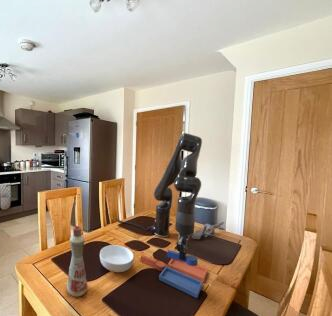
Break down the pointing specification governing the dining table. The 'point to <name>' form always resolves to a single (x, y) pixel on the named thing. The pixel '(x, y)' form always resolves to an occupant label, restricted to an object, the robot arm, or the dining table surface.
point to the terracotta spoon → (153, 262)
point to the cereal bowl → (116, 258)
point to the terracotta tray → (188, 269)
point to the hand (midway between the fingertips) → (182, 258)
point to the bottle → (77, 265)
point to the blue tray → (181, 281)
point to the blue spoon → (188, 259)
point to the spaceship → (206, 230)
